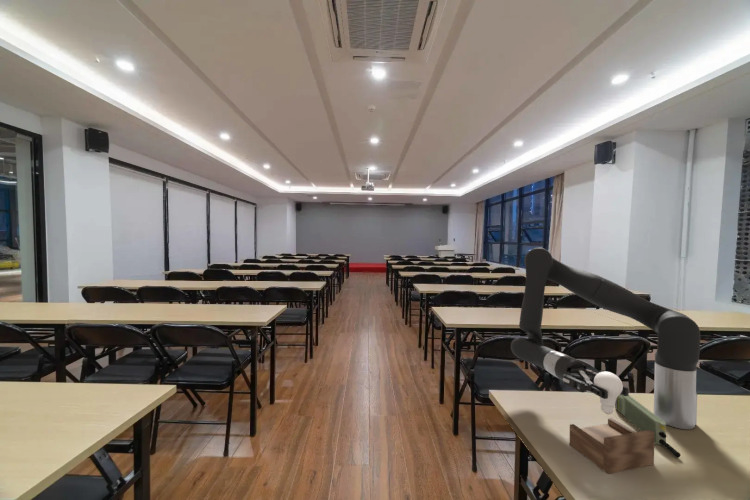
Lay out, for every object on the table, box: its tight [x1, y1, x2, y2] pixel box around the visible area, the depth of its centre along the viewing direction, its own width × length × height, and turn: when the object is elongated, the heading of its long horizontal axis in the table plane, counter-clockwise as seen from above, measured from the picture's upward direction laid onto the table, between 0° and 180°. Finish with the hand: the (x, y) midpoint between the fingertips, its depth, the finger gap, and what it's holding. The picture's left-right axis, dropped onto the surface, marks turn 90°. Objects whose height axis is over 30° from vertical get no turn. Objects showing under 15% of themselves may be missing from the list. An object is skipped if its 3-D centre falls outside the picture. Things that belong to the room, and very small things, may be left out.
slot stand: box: [569, 417, 655, 475], centre depth 83 cm, size 14×11×8 cm
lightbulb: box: [594, 370, 624, 415], centre depth 83 cm, size 6×6×11 cm
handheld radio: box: [614, 394, 681, 458], centre depth 93 cm, size 7×3×25 cm
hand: (617, 393), depth 81 cm, fingers closed on lightbulb, 6 cm apart
